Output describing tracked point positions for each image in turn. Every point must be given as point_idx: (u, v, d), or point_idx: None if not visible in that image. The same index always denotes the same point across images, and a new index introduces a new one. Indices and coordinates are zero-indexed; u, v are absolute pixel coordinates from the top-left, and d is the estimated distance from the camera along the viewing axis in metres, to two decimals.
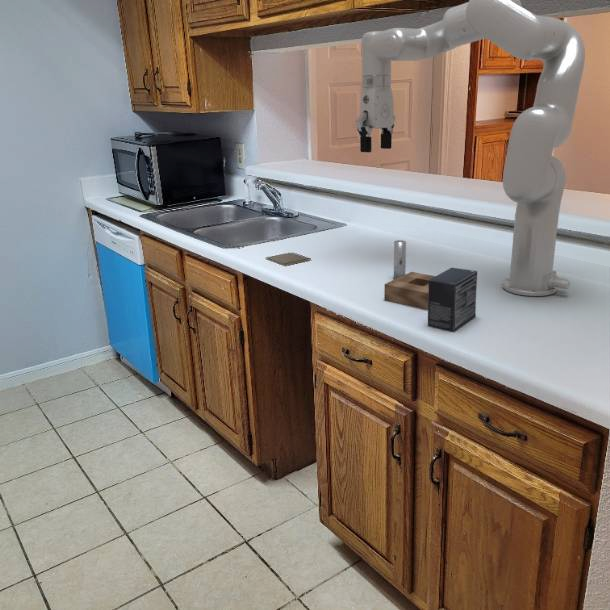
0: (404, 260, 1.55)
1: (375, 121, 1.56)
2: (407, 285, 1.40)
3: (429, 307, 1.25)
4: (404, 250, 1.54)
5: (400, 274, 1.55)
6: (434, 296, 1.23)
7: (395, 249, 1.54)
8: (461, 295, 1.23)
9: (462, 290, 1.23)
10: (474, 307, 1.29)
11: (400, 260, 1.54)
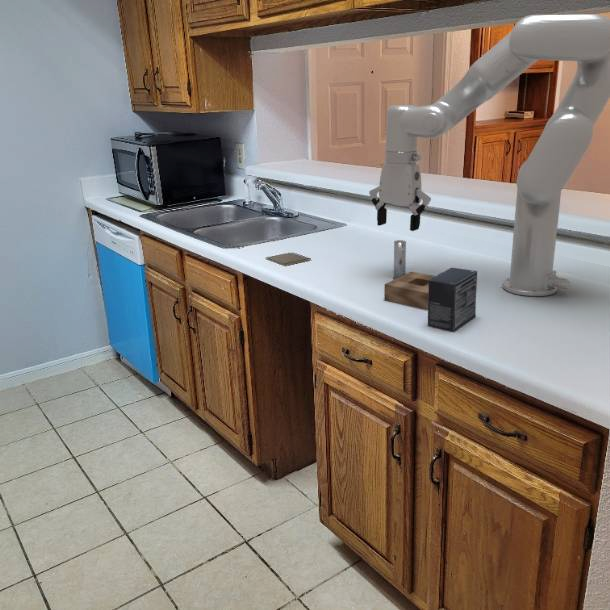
0: (404, 260, 1.55)
1: None
2: (407, 285, 1.40)
3: (429, 307, 1.25)
4: (404, 250, 1.54)
5: (400, 274, 1.55)
6: (434, 296, 1.23)
7: (395, 249, 1.54)
8: (461, 295, 1.23)
9: (462, 290, 1.23)
10: (474, 307, 1.29)
11: (400, 260, 1.54)
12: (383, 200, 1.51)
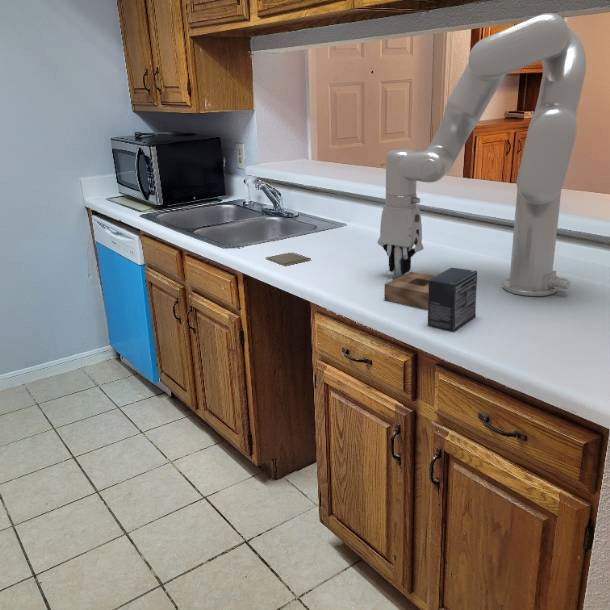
0: None
1: None
2: (407, 285, 1.40)
3: (429, 307, 1.25)
4: None
5: (400, 274, 1.55)
6: (434, 296, 1.23)
7: (395, 249, 1.54)
8: (461, 295, 1.23)
9: (462, 290, 1.23)
10: (474, 307, 1.29)
11: (400, 260, 1.54)
12: (384, 241, 1.55)
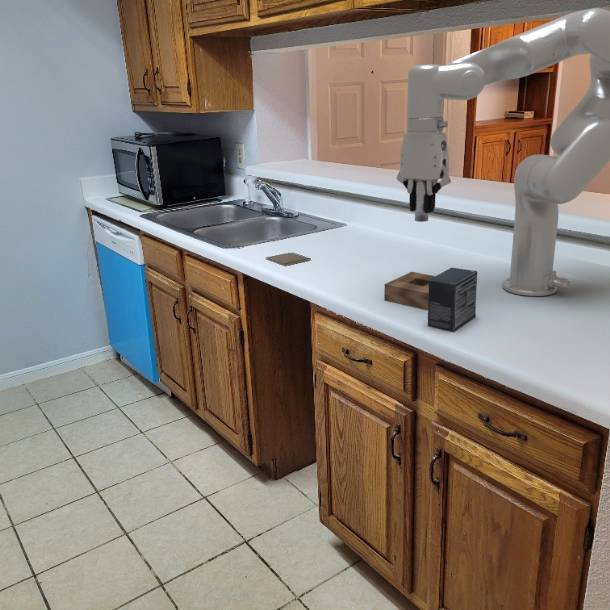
0: None
1: None
2: (407, 285, 1.40)
3: (429, 307, 1.25)
4: None
5: (422, 213, 1.35)
6: (434, 296, 1.23)
7: (417, 184, 1.33)
8: (461, 295, 1.23)
9: (462, 290, 1.23)
10: (474, 307, 1.29)
11: (423, 197, 1.33)
12: (405, 175, 1.34)
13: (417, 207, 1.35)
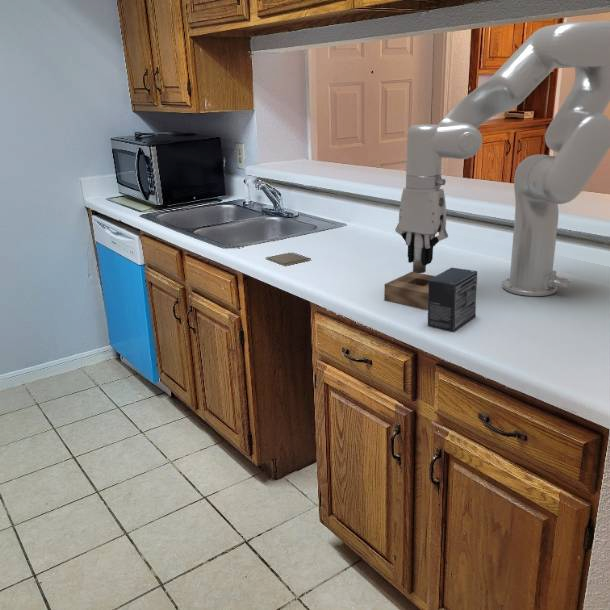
0: None
1: None
2: (407, 285, 1.40)
3: (429, 307, 1.25)
4: None
5: (420, 265, 1.39)
6: (434, 296, 1.23)
7: (415, 237, 1.37)
8: (461, 295, 1.23)
9: (462, 290, 1.23)
10: (474, 307, 1.29)
11: (421, 250, 1.37)
12: (404, 228, 1.38)
13: (415, 259, 1.39)
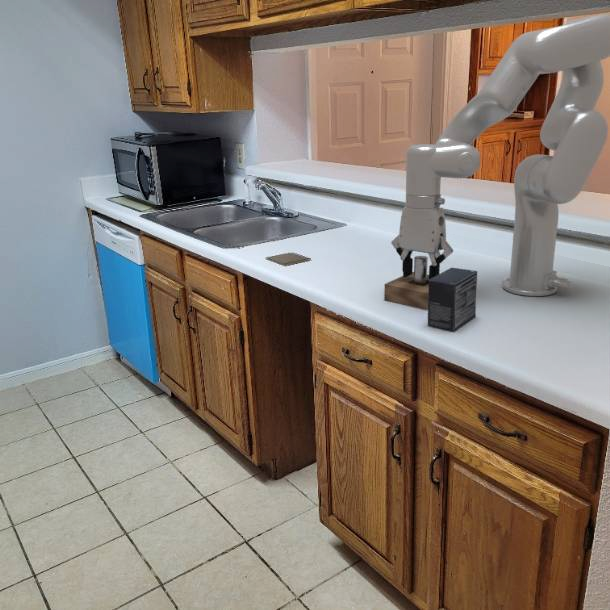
0: (425, 278, 1.40)
1: None
2: (407, 285, 1.40)
3: (429, 307, 1.25)
4: (425, 267, 1.39)
5: None
6: (434, 296, 1.23)
7: (415, 266, 1.39)
8: (461, 295, 1.23)
9: (462, 290, 1.23)
10: (474, 307, 1.29)
11: (421, 278, 1.40)
12: (404, 246, 1.39)
13: None
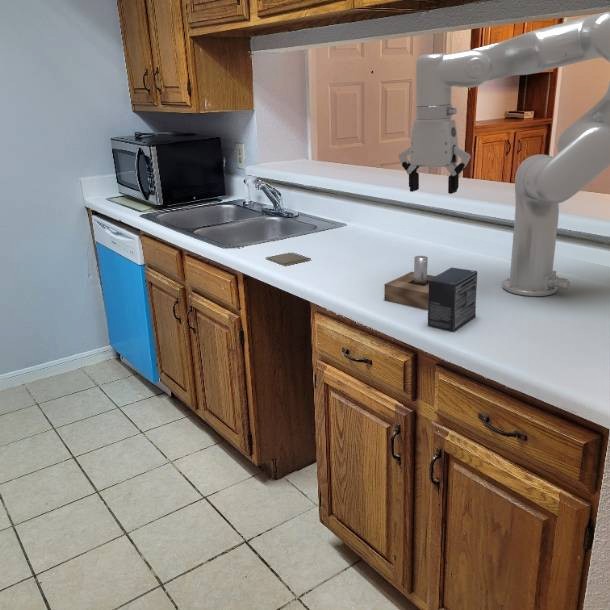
0: (425, 278, 1.40)
1: None
2: (407, 285, 1.40)
3: (429, 307, 1.25)
4: (425, 267, 1.39)
5: None
6: (434, 296, 1.23)
7: (416, 266, 1.39)
8: (461, 295, 1.23)
9: (462, 290, 1.23)
10: (474, 307, 1.29)
11: (421, 278, 1.40)
12: (416, 162, 1.37)
13: None
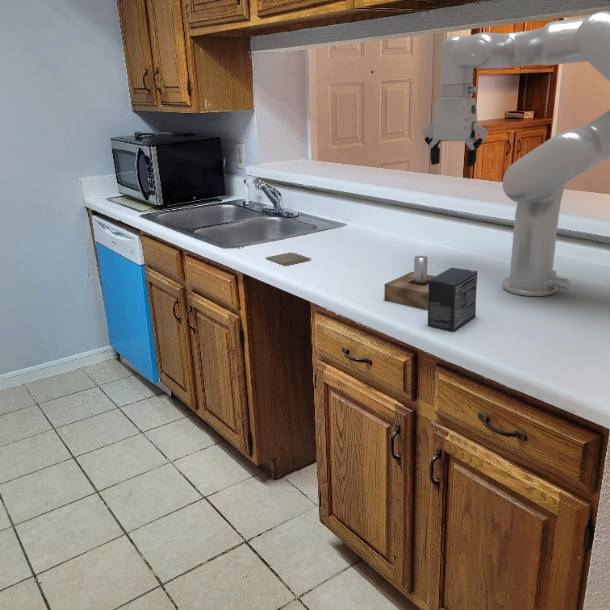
0: (425, 278, 1.40)
1: None
2: (407, 285, 1.40)
3: (429, 307, 1.25)
4: (426, 267, 1.39)
5: None
6: (434, 296, 1.23)
7: (416, 266, 1.39)
8: (461, 295, 1.23)
9: (462, 290, 1.23)
10: (474, 307, 1.29)
11: (421, 278, 1.40)
12: (437, 137, 1.49)
13: None
